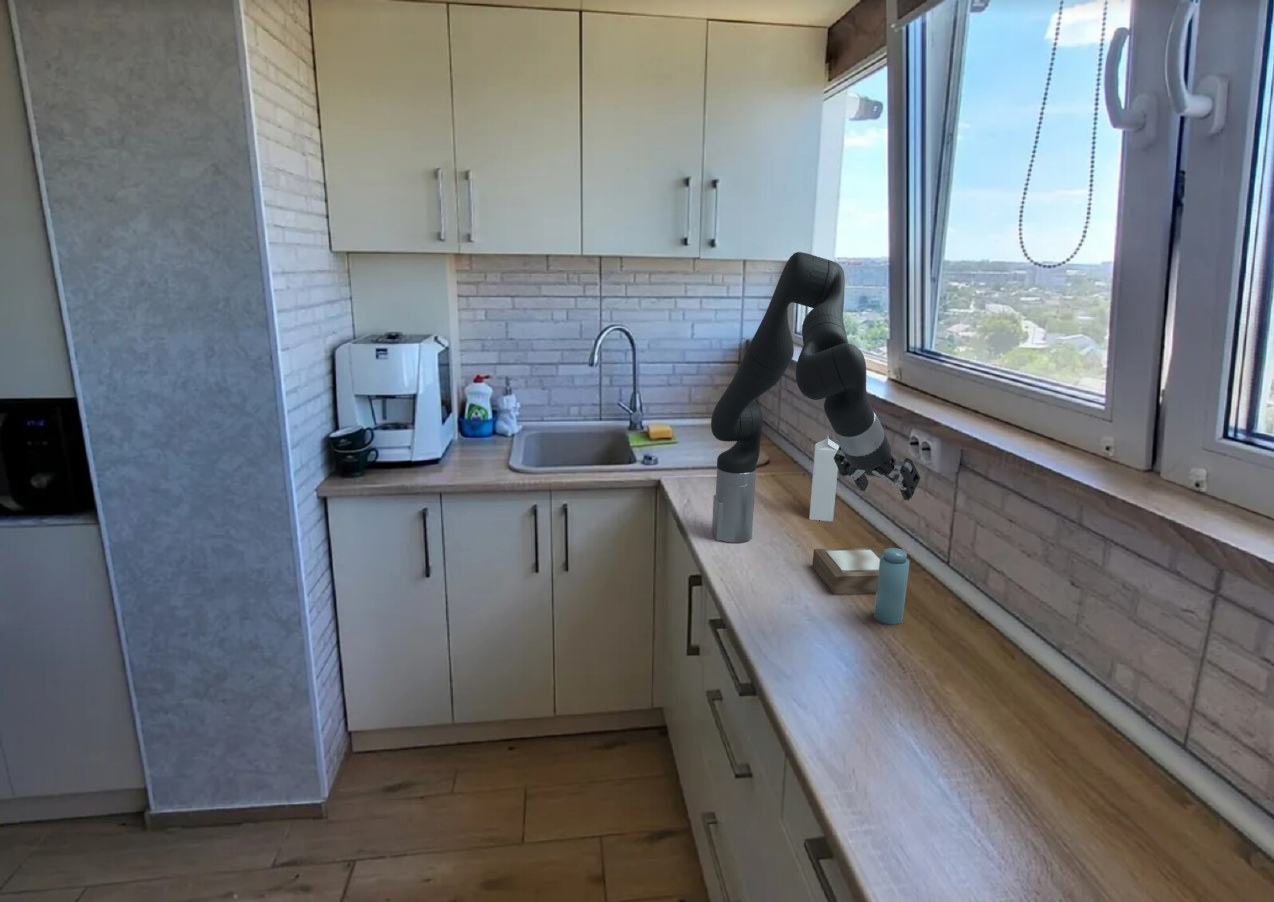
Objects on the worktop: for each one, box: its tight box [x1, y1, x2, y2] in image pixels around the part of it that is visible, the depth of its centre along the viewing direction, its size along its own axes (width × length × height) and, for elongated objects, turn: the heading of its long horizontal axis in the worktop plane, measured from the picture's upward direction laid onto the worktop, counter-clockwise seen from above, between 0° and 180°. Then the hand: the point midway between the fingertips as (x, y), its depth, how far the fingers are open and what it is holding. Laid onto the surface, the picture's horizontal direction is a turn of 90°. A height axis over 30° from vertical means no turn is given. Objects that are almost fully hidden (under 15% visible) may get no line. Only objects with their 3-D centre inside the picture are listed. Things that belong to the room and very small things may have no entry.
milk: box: [808, 437, 840, 523], centre depth 189 cm, size 6×6×22 cm
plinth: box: [812, 547, 883, 596], centre depth 156 cm, size 14×14×4 cm
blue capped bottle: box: [873, 547, 911, 626], centre depth 138 cm, size 5×5×14 cm
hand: (886, 491), depth 135 cm, fingers open, 8 cm apart
